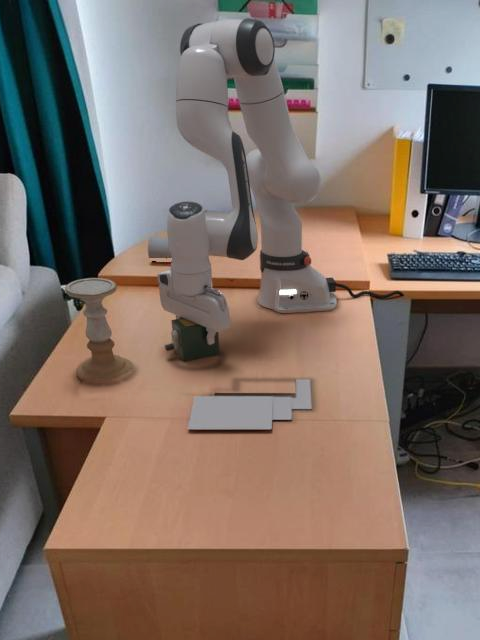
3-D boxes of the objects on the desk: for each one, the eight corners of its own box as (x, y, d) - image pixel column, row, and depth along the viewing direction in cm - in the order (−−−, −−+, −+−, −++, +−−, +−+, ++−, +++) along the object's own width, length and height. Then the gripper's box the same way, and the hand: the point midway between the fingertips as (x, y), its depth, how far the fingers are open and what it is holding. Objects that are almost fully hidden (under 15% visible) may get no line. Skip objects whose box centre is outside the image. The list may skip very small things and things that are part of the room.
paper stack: (199, 379, 162) (198, 376, 161) (310, 379, 164) (310, 376, 163) (187, 432, 143) (187, 429, 142) (313, 432, 145) (313, 429, 144)
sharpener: (211, 344, 174) (208, 312, 170) (220, 354, 170) (218, 321, 166) (162, 354, 169) (158, 321, 164) (171, 364, 165) (167, 330, 160)
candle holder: (143, 365, 167) (131, 279, 155) (116, 388, 157) (102, 299, 145) (95, 357, 169) (80, 273, 158) (66, 380, 159) (47, 291, 148)
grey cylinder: (175, 266, 225) (173, 241, 220) (148, 265, 224) (146, 240, 220) (181, 256, 233) (179, 232, 229) (155, 255, 233) (153, 231, 229)
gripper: (235, 288, 157) (238, 346, 165) (173, 266, 167) (179, 322, 175) (213, 296, 153) (218, 355, 161) (152, 273, 163) (159, 330, 171)
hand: (197, 338), depth 168 cm, fingers closed on sharpener, 7 cm apart
